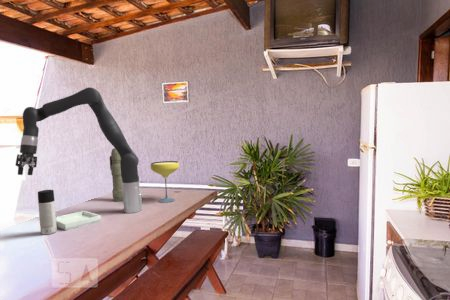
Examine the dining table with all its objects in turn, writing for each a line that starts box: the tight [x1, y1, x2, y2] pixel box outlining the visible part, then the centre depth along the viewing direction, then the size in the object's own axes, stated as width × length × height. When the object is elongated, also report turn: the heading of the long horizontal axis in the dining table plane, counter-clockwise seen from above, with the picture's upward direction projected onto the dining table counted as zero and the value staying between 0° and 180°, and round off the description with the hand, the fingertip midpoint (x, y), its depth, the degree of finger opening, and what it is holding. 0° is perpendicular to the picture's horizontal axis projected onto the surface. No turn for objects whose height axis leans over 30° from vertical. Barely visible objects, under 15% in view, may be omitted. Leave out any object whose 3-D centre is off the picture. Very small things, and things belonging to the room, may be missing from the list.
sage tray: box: [56, 210, 102, 231], centre depth 162 cm, size 18×18×3 cm
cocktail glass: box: [150, 160, 180, 204], centre depth 204 cm, size 18×18×25 cm
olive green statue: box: [109, 147, 124, 203], centre depth 210 cm, size 9×12×35 cm
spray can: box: [37, 189, 58, 236], centre depth 147 cm, size 7×7×20 cm
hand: (25, 175), depth 166 cm, fingers open, 8 cm apart
